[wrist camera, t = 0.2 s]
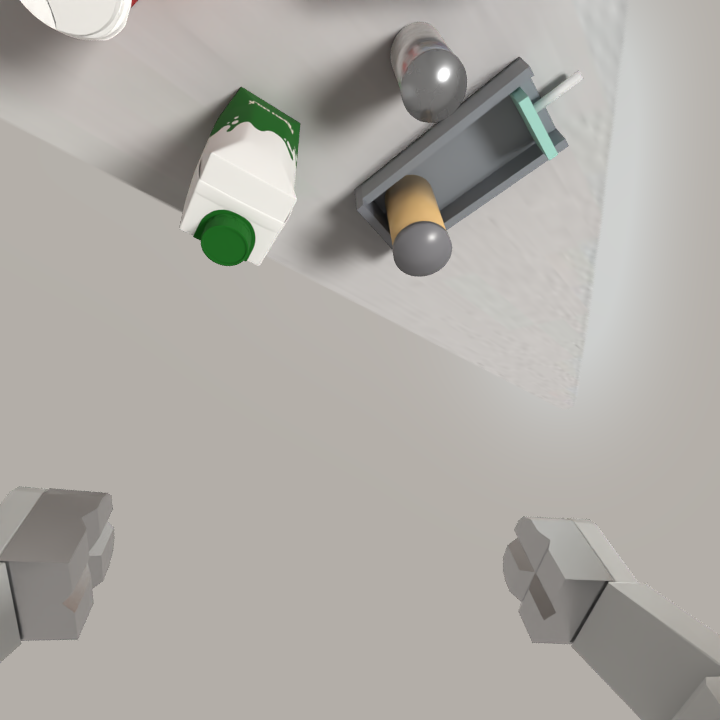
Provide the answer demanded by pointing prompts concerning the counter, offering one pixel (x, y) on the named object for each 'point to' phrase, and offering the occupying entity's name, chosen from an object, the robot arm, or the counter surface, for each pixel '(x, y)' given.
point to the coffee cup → (82, 16)
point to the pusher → (531, 110)
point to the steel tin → (427, 73)
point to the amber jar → (416, 227)
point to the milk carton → (243, 182)
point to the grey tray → (467, 153)
